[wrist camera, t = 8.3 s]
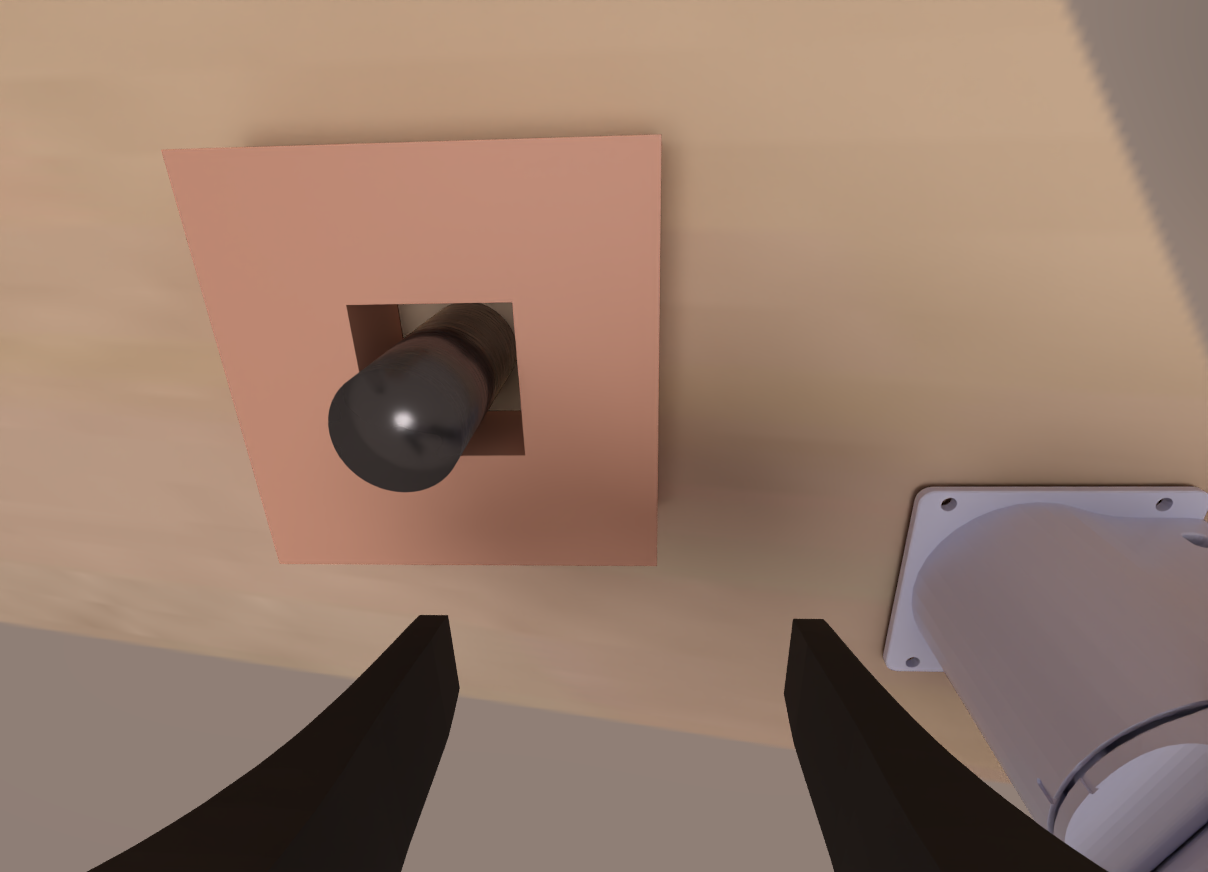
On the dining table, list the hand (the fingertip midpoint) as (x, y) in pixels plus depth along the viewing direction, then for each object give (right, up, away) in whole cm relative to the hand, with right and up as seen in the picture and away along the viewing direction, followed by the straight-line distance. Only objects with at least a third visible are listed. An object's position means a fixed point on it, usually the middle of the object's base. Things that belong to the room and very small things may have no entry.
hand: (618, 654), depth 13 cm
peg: (-5, +7, +7) cm, 11 cm away
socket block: (-5, +7, +7) cm, 11 cm away
